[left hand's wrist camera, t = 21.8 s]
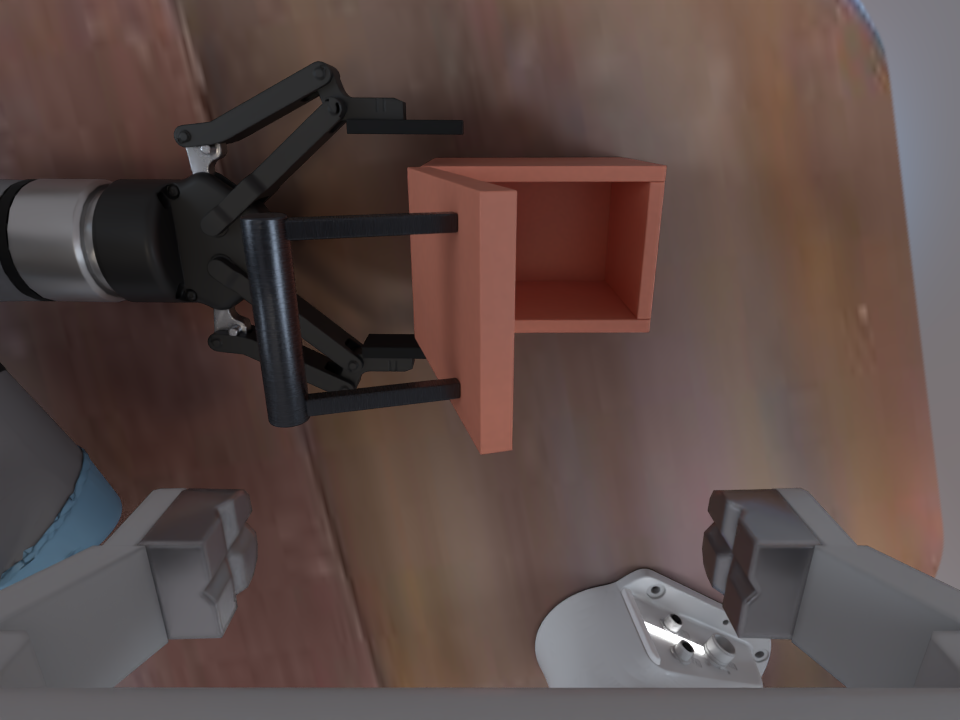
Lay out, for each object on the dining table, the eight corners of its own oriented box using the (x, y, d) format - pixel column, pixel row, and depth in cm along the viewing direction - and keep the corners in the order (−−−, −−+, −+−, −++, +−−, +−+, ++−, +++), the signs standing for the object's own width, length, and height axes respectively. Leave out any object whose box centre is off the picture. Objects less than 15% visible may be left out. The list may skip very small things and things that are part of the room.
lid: (517, 190, 19) (224, 198, 17) (512, 450, 22) (268, 486, 20) (430, 166, 32) (256, 169, 29) (435, 336, 35) (279, 350, 33)
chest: (622, 157, 42) (667, 165, 32) (612, 288, 46) (649, 333, 35) (434, 157, 42) (420, 166, 32) (438, 288, 46) (426, 333, 36)
